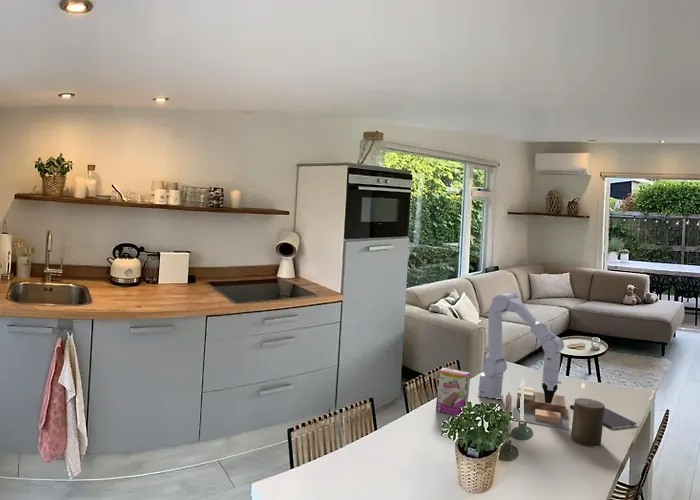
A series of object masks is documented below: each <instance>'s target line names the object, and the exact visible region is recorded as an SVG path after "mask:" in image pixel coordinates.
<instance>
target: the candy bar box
mask: <svg viewBox="0 0 700 500" xmlns="http://www.w3.org/2000/svg"><path fill="white" fill-rule="evenodd" d="M470 379H471V372H467V371H462V370H457V369H453V368H452V369H451V368H447V367H441V368H440V369H439V370H438V379H437V392H436V393H437V394H436V404H435V405H436V407H435V412H437V411H440V412H439V413H441V412H444V413H443V414H446V413H449V414H448V415H450V414H453V415H452V416H454V415H459V414H460V413H461V412H462V410H461V408H460V406H465V407H466V403H467V402H468V403H469V393H470V381H471V380H470Z"/></svg>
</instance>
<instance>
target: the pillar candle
mask: <svg viewBox="0 0 700 500" xmlns="http://www.w3.org/2000/svg"><path fill="white" fill-rule="evenodd" d="M573 405H574V410H573V414H572V415H573V416H572V423H571V430H570V431H571V433H570V439H571V441H573V442H575V443H576V444H578V445H581V446H583V447H589V448H592V447H593V448H598V447H600V446H601V444H602V438H603V426H604V425H603V418H604V408H606V406H605V404H604V403H603V402H601V401H598V400H596V399H591V398H586V397H584V398H583V397H581V398H575V399H574V403H573ZM597 446H598V447H597Z"/></svg>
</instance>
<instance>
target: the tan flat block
mask: <svg viewBox="0 0 700 500" xmlns="http://www.w3.org/2000/svg"><path fill="white" fill-rule="evenodd" d="M515 408H520V398H517V397H516V405H515ZM566 408H567V407H566V399H565V396H563V395H558V394H554V396H553V399H552V402H551V404H549V403H545V395H544V392H540V391H534V395H533V400H527V399H524V409H527V410H533V411H535V409H540V410H546V411H552V412H558V413H560V415H562V416H566Z"/></svg>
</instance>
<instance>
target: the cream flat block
mask: <svg viewBox="0 0 700 500" xmlns="http://www.w3.org/2000/svg"><path fill="white" fill-rule="evenodd" d="M523 387H524V399H527V400H533V395H534V392H535V388H533V387H526V386H523ZM520 397H521V388H520V385H518V387H517V397H516V399H517V398H520Z"/></svg>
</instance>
